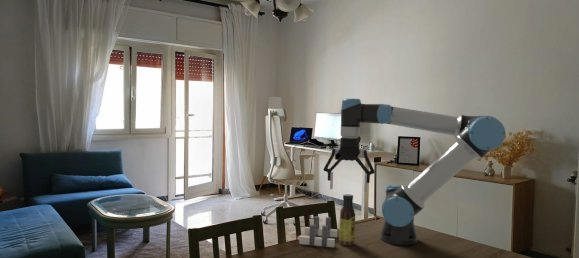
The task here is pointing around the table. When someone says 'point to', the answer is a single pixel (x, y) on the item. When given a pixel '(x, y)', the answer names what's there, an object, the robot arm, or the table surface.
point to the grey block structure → (319, 234)
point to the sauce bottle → (347, 221)
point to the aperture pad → (302, 235)
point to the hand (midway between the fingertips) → (348, 189)
